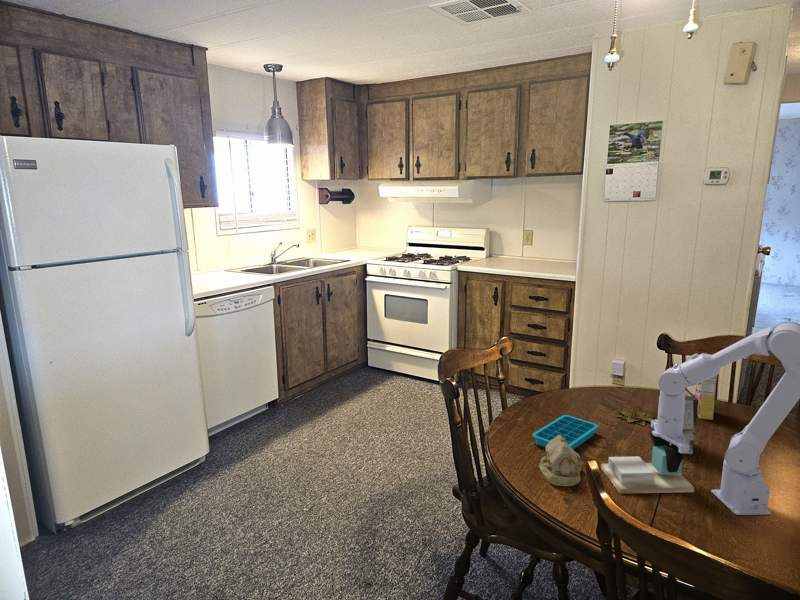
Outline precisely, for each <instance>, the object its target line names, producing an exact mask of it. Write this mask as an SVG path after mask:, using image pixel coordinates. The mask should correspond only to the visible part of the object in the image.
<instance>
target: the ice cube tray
mask: <svg viewBox="0 0 800 600" xmlns="http://www.w3.org/2000/svg"><path fill="white" fill-rule="evenodd" d="M598 428H599V424H597V423H593V422H591V421H588V420H584V419H581V418H577V417H575V416H571V415H569V414H563V415H561V416H559V417H557V418H556V419H555V420H552V421H551V422H549V423H548V424H547V425H545V426H543V427H542V428H540V429H538V430H536V431H535V432H533V433H532V437H533V438H535V444H536V445H538V446H540V447H542V448H546V445H547V444H548V443H549V442H550V441H551V440H552V439H554V438H555V437H557V435H561V436H564V437H565V439H566V442H567V443H568V444H569V446H570V447H571V448H572V449H573V450H574V451H575V449H576V448H578V447H580V445H582V444H583V443H584V442H586V441H587V440H589V439H590V438H592V437H593V436H594V435H595V432H596V431H595V430H597V429H598Z"/></svg>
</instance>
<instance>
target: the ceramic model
mask: <svg viewBox="0 0 800 600" xmlns="http://www.w3.org/2000/svg"><path fill="white" fill-rule="evenodd" d="M544 448H545V447H544ZM545 452H546V455H545V456H542V458H541V460H540V462H539V464H538V467H539V469H540V472H541V473H542V475H543V477H544V478H545V480H546V481H547V482H548V483H550V484H551V485H553V486H558V487H559V486H560V487H572V486H575V485H577V484H579V483H581V480H582V479H581V475H580V474H581V471H582V464H580V463H579V461H581V456H580V454H579V453H578V452H576V451H575V449H574V450H573V449H572V448H571V447H570V446H569V444H568V443H567V442H566V439H565V437H564V436H561V435H557V437H555V438H554V439H552V440H551V441H550V442H549V443H548V444H547V445H546V448H545Z"/></svg>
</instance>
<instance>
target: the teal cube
mask: <svg viewBox="0 0 800 600" xmlns="http://www.w3.org/2000/svg"><path fill="white" fill-rule="evenodd" d="M683 460H684V459H683ZM683 460H682V462H681V464H680V466H679V468H678V471H677V472H668V471H667V459H666V453H665V450H664V448H663V446H654V445H653V446H652V454H651V462H650V463H651V464H652V465H653V466H654V467H655V468H656V470H657V471H658V472H659V473H660V474H661V475H662V474H681V475H682V471H683V470H682V469H683Z"/></svg>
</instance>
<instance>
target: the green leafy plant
mask: <svg viewBox="0 0 800 600" xmlns="http://www.w3.org/2000/svg"><path fill="white" fill-rule="evenodd" d="M639 407H640V405H638V407H635V406H634V405H631V406H630V407H629V408H628V410H629V411H631V412H632V411H634V412H633V413H630V412H627V410H624V411H620V412H621V413H620V415H618V416H617V417H619V416H622V415H625V416H628V415H631V414H633V415H635V416H633V419H634V418H635V417H637V415H640V416H641V417H642V418H643V420H644V421H645V422H643V423H642V424H641V423H639V420H633V419H631V418H630V417H629V416H628V417H625V418H626V419H625V418H622V419H624V420H626V421H627V423H628V422H629V423H633V422H634V423H637V424H639V425H642V426H643V427H645V424H646V423H647V421H648V422H650V423H651V420H653V418H648V417H644V416H645V415H647V416H650V414H646V413H645V412H643V411H642V410H644V407H643V406H641V408H639ZM636 408H637V410H636ZM642 412H643V413H642ZM640 413H642V414H640ZM637 418H638V417H637ZM635 421H637V422H635ZM629 423H628V424H629Z"/></svg>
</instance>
